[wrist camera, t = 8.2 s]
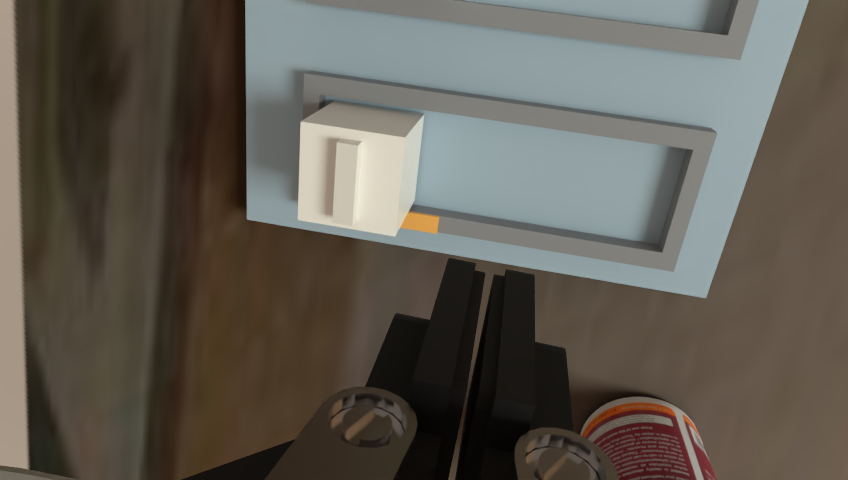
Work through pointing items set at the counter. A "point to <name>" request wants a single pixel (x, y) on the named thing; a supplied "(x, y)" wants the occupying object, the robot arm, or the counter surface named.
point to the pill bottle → (649, 440)
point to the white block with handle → (359, 166)
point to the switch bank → (535, 122)
